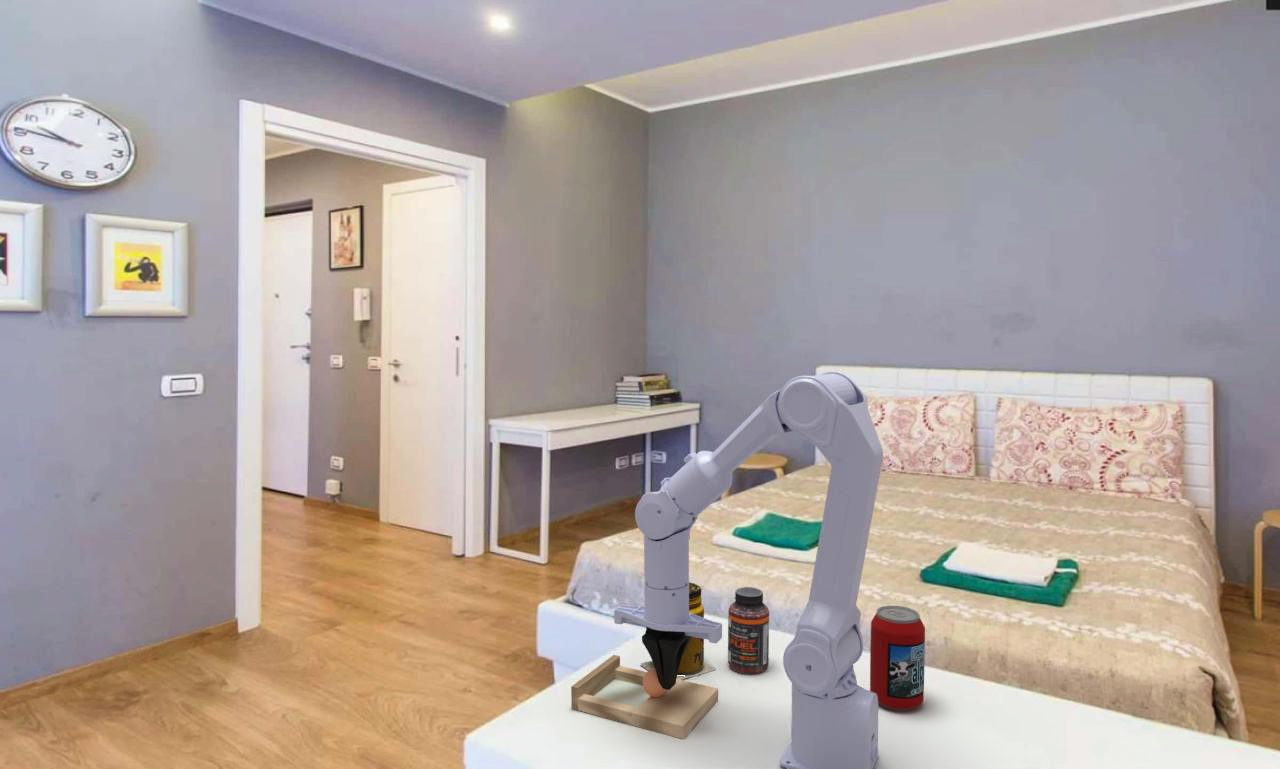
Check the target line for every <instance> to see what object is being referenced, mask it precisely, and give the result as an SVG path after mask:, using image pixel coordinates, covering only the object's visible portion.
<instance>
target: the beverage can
mask: <svg viewBox="0 0 1280 769" xmlns="http://www.w3.org/2000/svg"><path fill="white" fill-rule="evenodd" d="M920 617H921V615H920V613H919V612H917V611H916V610H914V609H913V608H910V607H906V606H902V605H884V606H880V607H879V608H877V609H876V612H875V614H874V616H873V618H872V620H870V649H869V650H870V651H869V652H870V656H869V657H870V658H869V660H870V661H869V674H870V675H869V691H871V692H874V693H876V694H877V697H878V704H880V705H881V706H883V707H884V708H887V709H890V710H895V711H909V710H913V709H914V708H915V709H916V708H917V707H919V706H921V705H922V704H923V702H924V693H925V691H924V690H925V661H926V660H925V657H926V656H925V655H926V654H925V653H926V651H925V650H926V628H925V625H924V623H923V622H922V619H921V618H920Z"/></svg>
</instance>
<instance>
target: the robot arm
mask: <svg viewBox="0 0 1280 769" xmlns="http://www.w3.org/2000/svg"><path fill="white" fill-rule="evenodd" d="M868 402H869V400H868V396H867V395H866V394H865V393H864V391H863V390H862V389H861V388H860V387H859V385H857V384H856V382H854V380H853V379H852V378H850V377H849V376H847V375H846V374H844V373H841V372H838V371H837V372H836V371H828V372H823V373H822V374H816V375H799V376H796V377H793V378H791V379H789V380H788V381H787V382H786V383H785V384H784V385H783V387H782V388H781V389H778V390H776V391H775V392H773V393H772V394H770V395H769V396H767V398H766V399H765V400H764V401H763V402H762V403H760V405H759V406H758V407H757V408H756V409H755V410H754V411H753V412H752V413H751V415H749V417H747V418H746V419H745V420H744V421H743V422H742V423H741V424H740V425H739V426H738V427H737V428H736V429H735V430H734V431H733V432H732V433H731V434H730V435H729V436H728V437H727V438H726V439H725V440H724V441H723V442H722V443H721V444H720V445H719V446H718V447H717V448H716V449H715V450H714V451H711V450H700V451H699V452H697V453H696V452H691V453H688V454H687V455H686V456H685V457H684V458H683V461H684V463H685V464H684V465H683V466H682V467H681V468H679V470H678V471H676V472H675V473H674V474H673V475H672V476H671V477H664V478H663V479H662V480H661V481H660V486H661V487H660V489H659V490H658V491H651V492H647V493H645V494H643V495H642V496H641V498H640V500H639V501H638V502H637V504H636V507H635V511H634V519H635V523H636V525H637V527H638V529H639V531H640V532H641V533H642V534H643V553H644V554H643V555H644V556H643V558H644V559H643V561H644V562H643V563H644V565H643V566H644V567H643V569H644V570H643V572H644V573H643V578H644V582H643V583H644V606H639V605H638V606H637V605H636V606H635V605H625V604H621V605H619V606H617V607H616V608H614V610H613V612H614V619H613V620H614V624H616V625H623V624H628V625H631V626H632V625H633V626H637V627H641V628H642V627H643V628H645V633H644V634H643V635H642V636H641V641H642V645H644V647H645V649H646V651H647V652H648V655H649V656H650V658H651V661H653V664H654V667H655V670H656V673H657V677H658V681H659V683H660V685H661V686H662V688H663V689H667V690H670V689H671V688H672V687H673V686H674V685H675V684H676V679H677V674H678V669H679V666H680V662H681V659H682V657H683V654H684V652H685V649H686V647H687V645H688V643H689V641H690V639H691V637H697V638H702V639H704V640H707V641H708V642H709V643H710V644H715V645H716V644H717V643H718V642H720V641H721V640H722V638H723V623H721V622H717V621H713V620H711V619H710V620H709V619H707V618H705V617H704V618H702V617H700V616H697V615H694V614H692V613H689V582H690V564H689V562H690V550H689V549H690V537H691V536H690V534H691V528H692V527H693V526H694V525H695V523H696V521H697V519H698V516H699V515H700V514H701V513H702V512H703V511H705V510H706V509H707V508H708V507H709V506H711V505H712V504H713V503H714V502H715V501H716V500H717V499H719V498H720V497H721V496H722V495H723V494H724V493H726V492H727V491H728V490H729V489H730V488H731V487H732V484H733V475H734V474H733V472H734V471H735V470H736V469H737V468H739V467H740V466H741V465H742V464H744V463H745V462H746V461H748V460H749V459H750V458H751V457H753V456H754V455H755V454H756V453H758V452H759V451H760V450H761V449H763V448H764V447H765V446H767V444H769V443H770V442H771V441H772V440H773V439H775V438H777V437H778V436H779V435H783V434H787V433H791V432H793V433H795V434H796V435H798V436H800V437H802V438H803V439H804V440H806V441H807V442H809V443H810V444H811V445H813V446H814V447H816V448H817V450H819V452H820V453H821V454H822V456H823V457H824V458H825V459H826V460H827V462H828V463H829V464H830V466H831V469H830V474H829V481H828V485H827V486H828V487H827V490H826V491H827V492H826V499H825V504H824V510H823V515H822V522H821V527H820V533H819V538H818V544H817V548H816V549H817V550H816V558H815V563H814V568H813V572H812V573H813V574H812V579H811V585H810V589H809V590H810V591H809V597H808V601H807V604H806V605H805V608H804V609H803V612H802V614H801V616H800V619H799V620H798V622H797V624H796V625H797V626H796V630H795V635H794V637H793V639H792V640H791V641H790V642H789V644H787V646H786V648H785V650H784V651H783V658H782V660H783V661H782V664H783V670H784V671H785V674H786V676H787V678H788V680H789V681H790V683H791V720H790V721H791V722H790V723H791V726H790V727H791V731H790V733H791V736H790V738H791V739H790V740H791V742H790V744H789V745H788V747H787V748H786V750H785V751H784V753H783V755H782V756H781V758H780V759H779V766H781V767H783V768H787V769H874V767H875V764H876V762H877V760H878V757H879V753H880V752H879V749H878V748H879V745H878V744H879V702H878V697H877V694H876V693H874V692H871V691H870V690H868V689H866V688H864V687H862V686H860V685H858V681H857V676H856V673H855V670H854V664H856V663H857V662H858V661H859V660H860V658H861V657H862V654H863V652H864V638H863V635H862V631H861V629H860V626H861V625H860V622H861V615H862V612H861V611H860V609H859V608H858V606H857V601H858V596H859V591H860V583H861V580H862V574H863V571H864V570H863V569H864V563H865V558H866V552H867V547H868V540H869V535H870V530H871V527H872V526H871V524H872V520H873V515H874V509H875V503H876V497H877V493H878V492H877V491H878V487H879V481H880V475H881V470H882V465H883V460H884V451H883V447H882V444H881V441H880V438H879V435H878V433H877V430H876V428H875V425H874V422H873V419H872V417H871V414H870V411H869V404H868Z"/></svg>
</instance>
